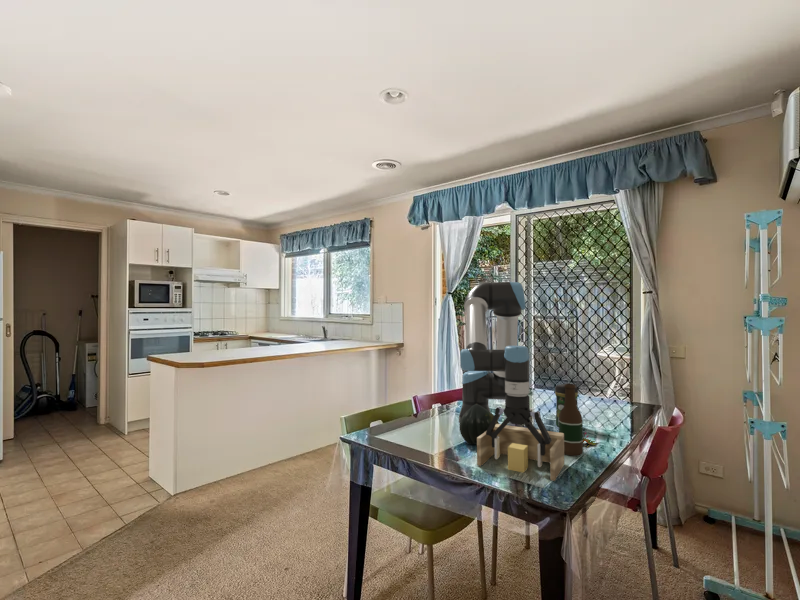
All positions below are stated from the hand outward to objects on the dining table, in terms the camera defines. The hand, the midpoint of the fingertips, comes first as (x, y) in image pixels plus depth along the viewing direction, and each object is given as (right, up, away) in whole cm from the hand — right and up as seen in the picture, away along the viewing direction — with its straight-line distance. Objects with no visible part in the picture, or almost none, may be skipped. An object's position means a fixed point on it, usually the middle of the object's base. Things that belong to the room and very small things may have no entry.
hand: (518, 461), depth 132 cm
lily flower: (+32, -4, +26) cm, 41 cm away
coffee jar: (+35, -4, +48) cm, 60 cm away
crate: (+2, -2, +3) cm, 4 cm away
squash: (-8, -3, +26) cm, 28 cm away
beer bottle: (+23, -3, +15) cm, 28 cm away
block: (0, -2, 0) cm, 2 cm away
